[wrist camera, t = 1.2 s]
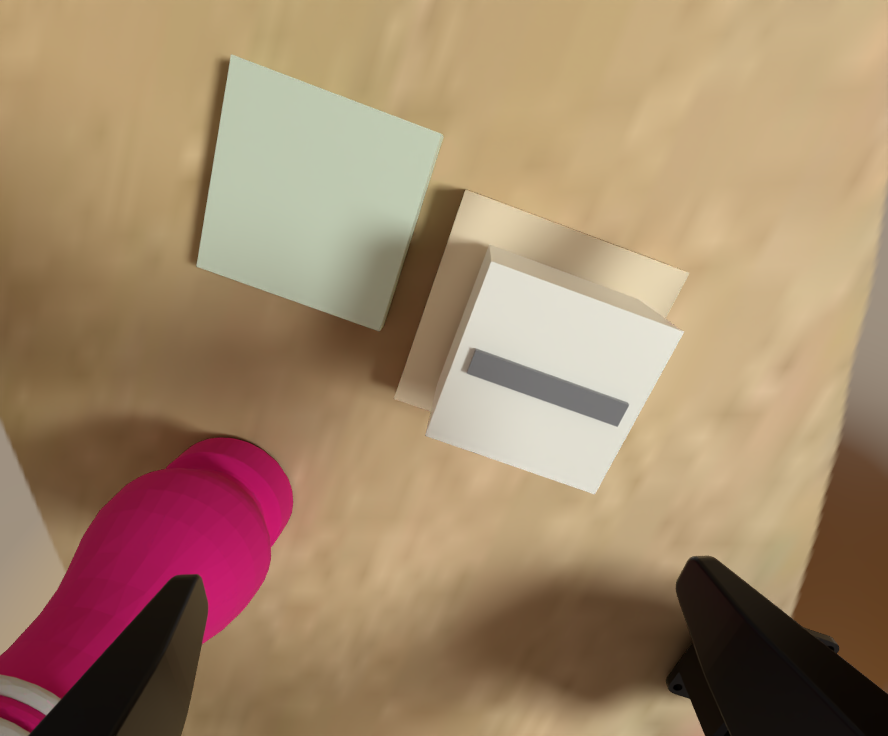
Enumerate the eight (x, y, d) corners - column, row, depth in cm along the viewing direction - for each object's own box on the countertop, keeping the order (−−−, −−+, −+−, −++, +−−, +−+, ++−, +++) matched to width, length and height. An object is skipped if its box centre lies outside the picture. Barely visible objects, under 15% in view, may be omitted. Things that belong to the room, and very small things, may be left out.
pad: (443, 136, 19) (441, 134, 18) (383, 325, 22) (379, 331, 21) (243, 60, 19) (231, 54, 18) (209, 262, 21) (196, 266, 20)
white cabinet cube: (638, 299, 19) (686, 333, 14) (571, 431, 21) (596, 497, 16) (489, 244, 18) (491, 261, 14) (436, 384, 20) (424, 438, 16)
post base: (674, 267, 20) (741, 294, 15) (580, 449, 23) (609, 524, 18) (466, 189, 20) (461, 189, 14) (399, 385, 23) (375, 443, 18)
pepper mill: (161, 417, 24) (-978, 1190, 5) (304, 437, 24) (-394, 1344, 5) (173, 537, 27) (-579, 1348, 8) (303, 557, 26) (-168, 1460, 8)
